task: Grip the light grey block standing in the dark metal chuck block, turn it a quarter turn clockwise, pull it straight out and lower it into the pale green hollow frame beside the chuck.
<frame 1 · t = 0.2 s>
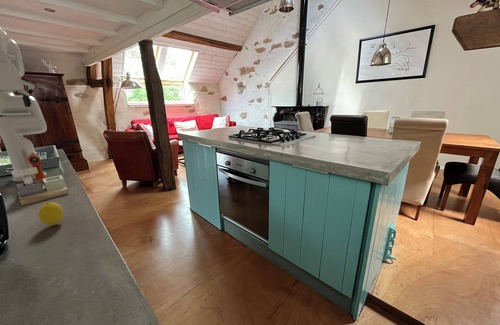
hand: (10, 107, 80), 36 cm above the countertop, tool pointing down, fingers open, 9 cm apart
pale green hollow frame: (55, 187, 93), resting on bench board
lemon: (55, 225, 68), on the countertop
light grey block: (28, 181, 86), in the chuck block, point 7 cm above the countertop, touching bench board
toy drill: (42, 184, 102), on the countertop
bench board: (44, 194, 90), on the countertop
chuck block: (30, 188, 87), on the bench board, point 4 cm above the countertop
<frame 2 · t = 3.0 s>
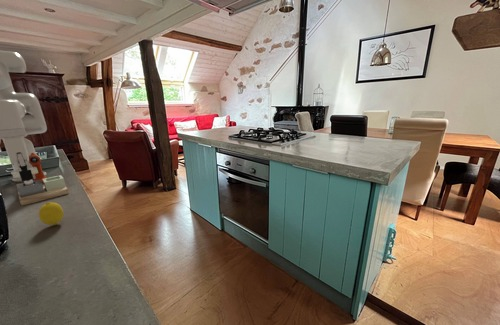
hand: (27, 178, 86), 8 cm above the countertop, tool pointing down, fingers closed on light grey block, 3 cm apart
light grey block: (28, 181, 86), in the chuck block, point 7 cm above the countertop, touching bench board, gripper
everything else where it was.
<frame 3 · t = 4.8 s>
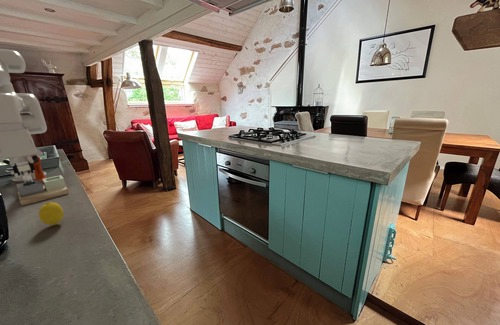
hand: (25, 173, 85), 11 cm above the countertop, tool pointing down, fingers closed on light grey block, 3 cm apart
light grey block: (26, 175, 86), point 9 cm above the countertop, touching gripper
everything else where it was.
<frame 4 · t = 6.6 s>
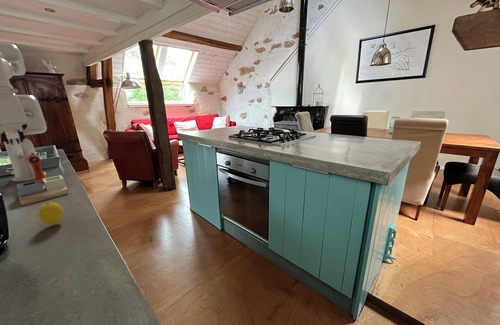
hand: (14, 142, 82), 23 cm above the countertop, tool pointing down, fingers closed on light grey block, 3 cm apart
light grey block: (16, 145, 82), point 22 cm above the countertop, touching gripper
everything else where it was.
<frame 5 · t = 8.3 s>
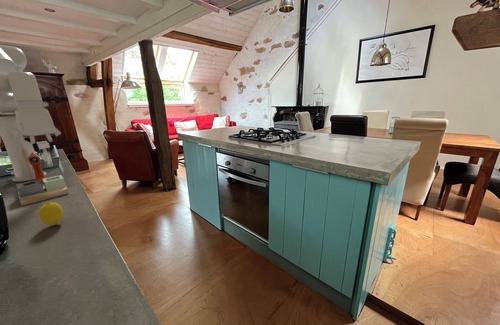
hand: (44, 151, 88), 18 cm above the countertop, tool pointing down, fingers closed on light grey block, 3 cm apart
light grey block: (45, 154, 88), point 17 cm above the countertop, touching gripper
everything else where it was.
when the fingers open (9 cm above the countertop, at t = 10.1 s): light grey block stays where it is, resting on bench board.
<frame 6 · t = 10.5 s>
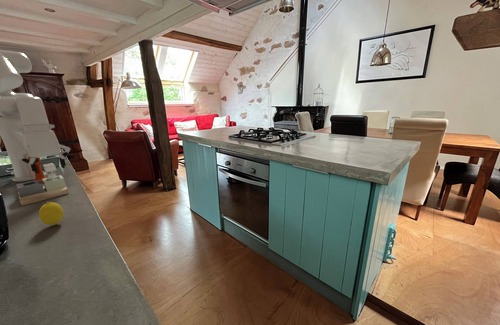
hand: (50, 169, 90), 10 cm above the countertop, tool pointing down, fingers open, 8 cm apart
light grey block: (52, 176, 91), in the pale green hollow frame, point 7 cm above the countertop, touching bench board
everything else where it was.
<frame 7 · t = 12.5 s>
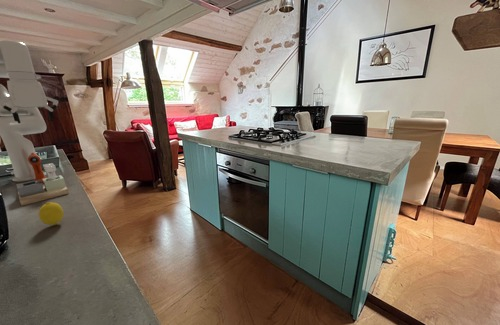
hand: (36, 121, 88), 30 cm above the countertop, tool pointing down, fingers open, 9 cm apart
nothing on the countertop moved.
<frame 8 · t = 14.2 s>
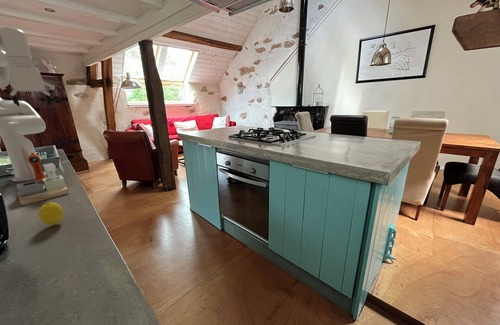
hand: (34, 105, 93), 36 cm above the countertop, tool pointing down, fingers open, 9 cm apart
nothing on the countertop moved.
at the end: light grey block 0.0 cm from the target spot on the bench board, point 7.0 cm above the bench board's base; the gripper is holding nothing; light grey block tilted 0° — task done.
